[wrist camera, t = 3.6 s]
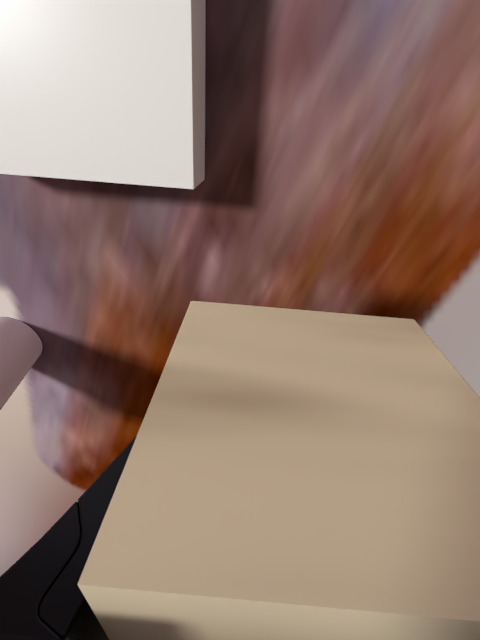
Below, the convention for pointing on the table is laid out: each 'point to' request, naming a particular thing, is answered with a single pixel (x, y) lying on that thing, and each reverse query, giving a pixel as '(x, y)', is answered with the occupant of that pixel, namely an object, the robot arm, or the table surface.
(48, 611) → the robot arm
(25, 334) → the smoothie
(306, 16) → the table surface
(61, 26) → the plinth
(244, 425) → the maple cube
